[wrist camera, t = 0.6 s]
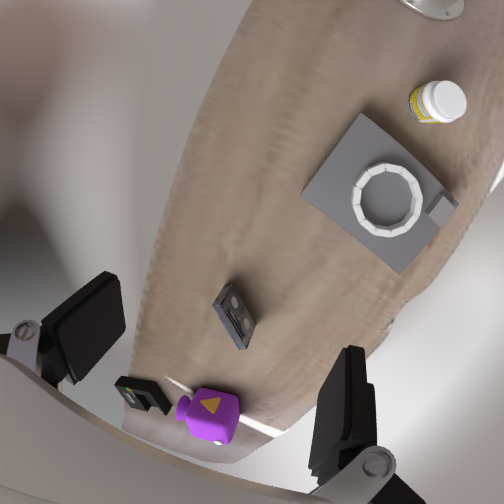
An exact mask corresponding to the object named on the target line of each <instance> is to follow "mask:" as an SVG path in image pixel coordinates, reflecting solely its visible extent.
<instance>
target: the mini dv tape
mask: <svg viewBox="0 0 504 504" xmlns="http://www.w3.org/2000/svg"><path fill="white" fill-rule="evenodd" d="M212 307H213V308H214V310H215V312H216V313H217V315H218V317H219V318H220V320H221V322H222V323H223V325H224V326H225V328H226V330H227V331H228V333H229V334H230V336H231V338H232V339H233V341H234V342H235V344H236V346H237V347H238V349H239V350H244V349H247V347H248V345H249V342H250V339H251V337H252V334H253V332H254V329H255V326H256V324H255V323H254V321H253V319H252V317H251V315H250V314H249V312H248V310H247V308H246V306H245V304H244V303H243V301H242V299H241V297H240V295H239V294H238V292H237V290H236V288H235V286H234V284H233V283H232V284H229V285H226V286H224V287H223V289H222V290H221V292H220V293H219V295H218V297H217V298H216V300H215V301H214V303H213V306H212Z"/></svg>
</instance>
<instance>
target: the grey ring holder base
mask: <svg viewBox="0 0 504 504" xmlns="http://www.w3.org/2000/svg"><path fill="white" fill-rule="evenodd" d="M300 197H302V198H303V199H304V200H306V201H307V202H308V203H310V204H311V205H312V206H314V207H315V208H317V209H318V210H319V211H321V212H322V213H323V214H325V215H326V216H327V217H329V218H330V219H331V220H332V221H334V222H335V223H336V224H338V225H339V226H340V227H342V228H343V229H344V230H345V231H347V232H348V233H349V234H350V235H352V236H353V237H354V238H356V239H357V240H358V241H359V242H361V243H362V244H363V245H364V246H365V247H367V248H368V249H369V250H370V251H372V252H373V253H374V254H375V255H376V256H378V257H379V258H380V259H381V260H382V261H384V262H385V263H386V264H387V265H388V266H390V267H391V268H392V269H393V270H394V271H395V272H397V273H398V274H399V275H400V274H401V273H402V272H403V271H404V270H405V268H406V267H407V266H408V265H409V264H410V263H411V262H412V261H413V260H414V259H415V257H416V256H417V255H418V254H419V253H420V252H421V251H422V249H423V248H424V247H425V246H426V245H427V244H428V242H429V241H430V240H431V239H432V238H433V236H434V235H435V234H436V233H437V232H438V230H439V229H440V228H441V227H442V226H443V225H444V224H445V222H446V221H447V220H448V218H449V217H450V216H451V215H452V213H453V212H454V211H455V209H456V207H457V206H458V205H459V203H458V202H457V201H456V200H455V199H454V198H453V196H452V195H451V194H450V193H449V192H448V191H447V190H446V189H445V188H444V187H443V185H442V184H441V183H440V182H439V181H438V180H437V179H436V178H435V177H434V176H433V175H432V174H431V173H430V172H429V171H428V170H427V169H426V168H425V167H424V166H423V165H422V164H421V163H420V162H419V161H418V160H417V159H416V158H415V157H414V156H412V155H411V154H410V153H409V152H408V151H407V150H406V149H405V148H404V147H403V146H401V145H400V144H399V143H398V142H397V141H396V140H395V139H393V138H392V137H391V136H390V135H389V134H388V133H386V132H385V131H384V130H383V129H381V128H380V127H379V126H378V125H377V124H375V123H374V122H373V121H371V120H370V119H369V118H368V117H366V116H365V115H364V114H362V113H360V114H358V115H357V116H356V117H355V119H354V120H353V121H352V123H351V124H350V125H349V127H348V128H347V130H346V131H345V132H344V134H343V135H342V136H341V138H340V139H339V141H338V142H337V143H336V145H335V146H334V147H333V149H332V150H331V152H330V153H329V154H328V156H327V157H326V158H325V160H324V161H323V162H322V164H321V165H320V167H319V168H318V169H317V171H316V172H315V173H314V175H313V176H312V178H311V179H310V180H309V182H308V183H307V184H306V186H305V187H304V188H303V190H302V192H301V194H300Z"/></svg>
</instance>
